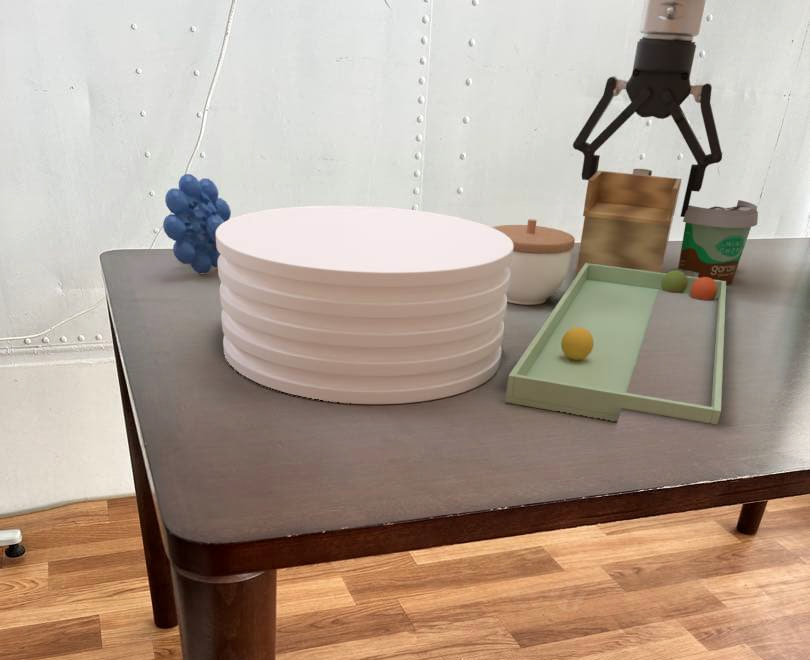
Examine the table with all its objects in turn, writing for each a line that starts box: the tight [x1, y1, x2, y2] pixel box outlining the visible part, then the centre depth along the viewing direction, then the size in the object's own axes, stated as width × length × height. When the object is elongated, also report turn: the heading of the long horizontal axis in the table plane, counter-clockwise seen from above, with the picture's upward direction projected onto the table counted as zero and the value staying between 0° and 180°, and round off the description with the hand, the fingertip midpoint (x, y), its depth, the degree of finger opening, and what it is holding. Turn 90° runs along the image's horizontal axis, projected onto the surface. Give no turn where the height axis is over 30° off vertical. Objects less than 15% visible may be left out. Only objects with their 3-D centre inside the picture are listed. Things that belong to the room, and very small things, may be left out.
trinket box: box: [492, 218, 576, 306], centre depth 101 cm, size 11×11×9 cm
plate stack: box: [216, 205, 514, 405], centre depth 81 cm, size 28×28×12 cm
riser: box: [574, 216, 674, 277], centre depth 113 cm, size 11×6×8 cm, turn 71°
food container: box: [677, 199, 759, 286], centre depth 112 cm, size 12×6×10 cm, turn 126°
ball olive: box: [661, 269, 688, 294], centre depth 105 cm, size 3×3×3 cm
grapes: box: [162, 173, 232, 274], centre depth 102 cm, size 12×7×12 cm, turn 151°
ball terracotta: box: [689, 277, 717, 301], centre depth 102 cm, size 3×3×3 cm
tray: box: [504, 263, 727, 425], centre depth 90 cm, size 18×46×3 cm, turn 161°
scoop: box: [582, 168, 682, 226], centre depth 111 cm, size 11×15×4 cm
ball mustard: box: [561, 327, 594, 360], centre depth 82 cm, size 3×3×3 cm
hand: (635, 210), depth 118 cm, fingers open, 13 cm apart
